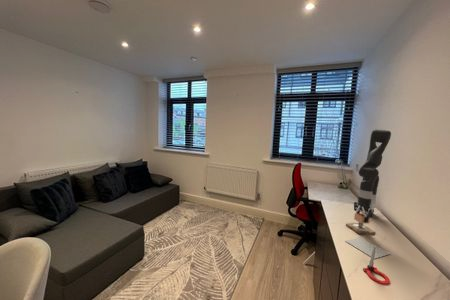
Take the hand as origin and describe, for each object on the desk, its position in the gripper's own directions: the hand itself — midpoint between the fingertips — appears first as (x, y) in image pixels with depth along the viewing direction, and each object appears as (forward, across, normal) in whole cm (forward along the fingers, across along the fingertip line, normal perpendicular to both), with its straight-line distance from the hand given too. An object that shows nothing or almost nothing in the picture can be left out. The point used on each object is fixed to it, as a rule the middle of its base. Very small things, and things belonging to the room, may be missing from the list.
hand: (361, 219), depth 134 cm
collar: (+1, 0, 0) cm, 1 cm away
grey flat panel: (+8, -22, +8) cm, 25 cm away
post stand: (+7, 0, 0) cm, 7 cm away
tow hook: (+8, -40, +29) cm, 50 cm away
